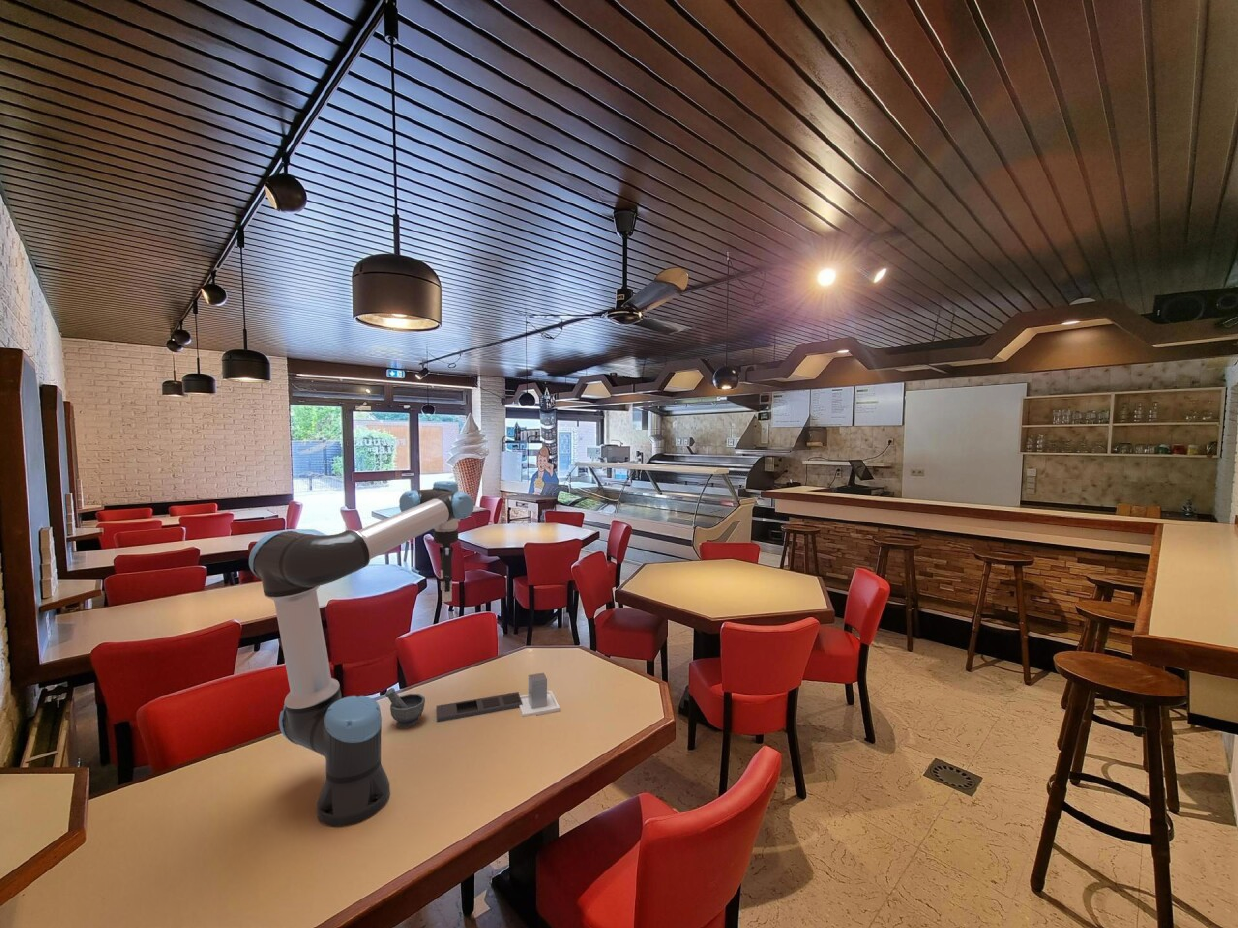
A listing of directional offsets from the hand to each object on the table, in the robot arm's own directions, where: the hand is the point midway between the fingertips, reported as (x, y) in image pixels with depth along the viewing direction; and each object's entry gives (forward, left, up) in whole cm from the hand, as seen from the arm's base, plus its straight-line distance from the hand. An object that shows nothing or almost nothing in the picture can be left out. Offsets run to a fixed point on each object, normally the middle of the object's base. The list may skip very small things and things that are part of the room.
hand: (446, 595), depth 160 cm
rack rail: (-5, -10, -37) cm, 38 cm away
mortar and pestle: (-6, +12, -37) cm, 39 cm away
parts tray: (-9, -28, -37) cm, 47 cm away
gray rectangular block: (-9, -28, -36) cm, 47 cm away
